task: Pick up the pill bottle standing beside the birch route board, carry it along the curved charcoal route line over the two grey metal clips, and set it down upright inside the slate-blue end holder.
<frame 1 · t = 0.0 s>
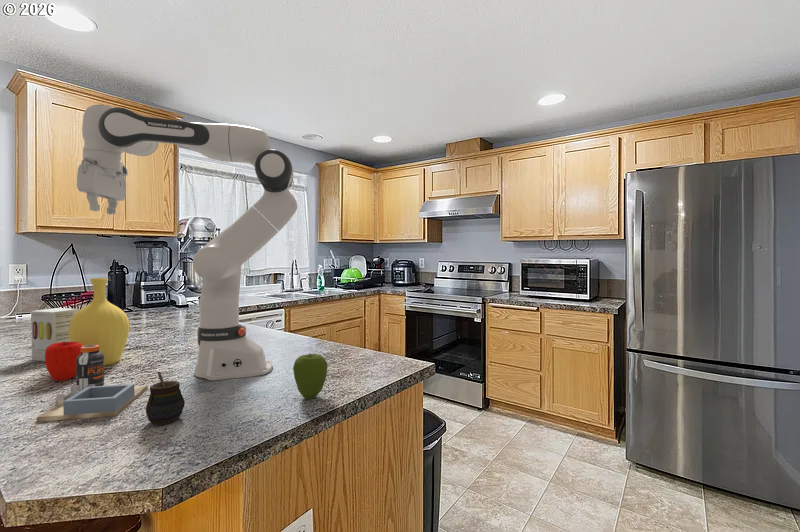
hand: (103, 212, 115), 48 cm above the counter, fingers open, 8 cm apart
clips: (75, 395, 96), on the route board, point 2 cm above the counter
supplement box: (56, 358, 139), on the counter
end holder: (101, 398, 93), on the route board, point 2 cm above the counter
vase: (100, 363, 133), on the counter
apple: (65, 379, 116), on the counter
mate gourd: (164, 421, 87), on the counter
route board: (97, 403, 96), on the counter
apple 2: (310, 398, 101), on the counter
pill bottle: (90, 388, 108), on the counter
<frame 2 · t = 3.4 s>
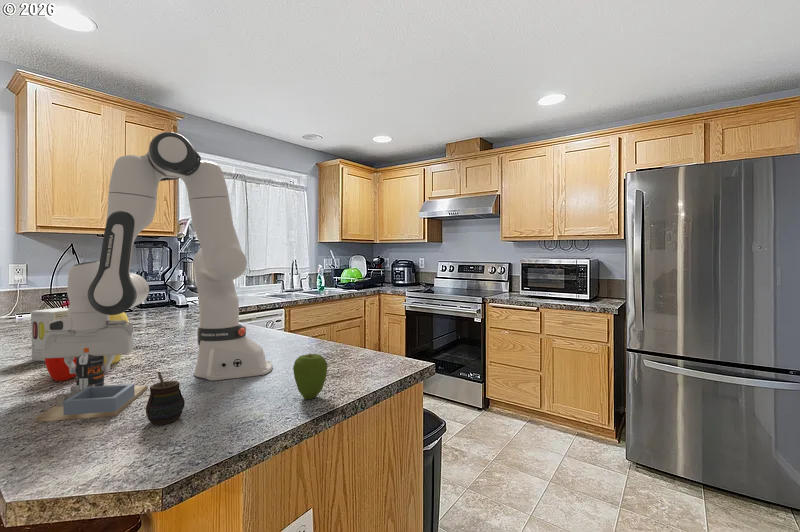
hand: (90, 372, 108), 4 cm above the counter, fingers closed on pill bottle, 6 cm apart
pill bottle: (90, 388, 108), on the counter, touching gripper
everything else where it was.
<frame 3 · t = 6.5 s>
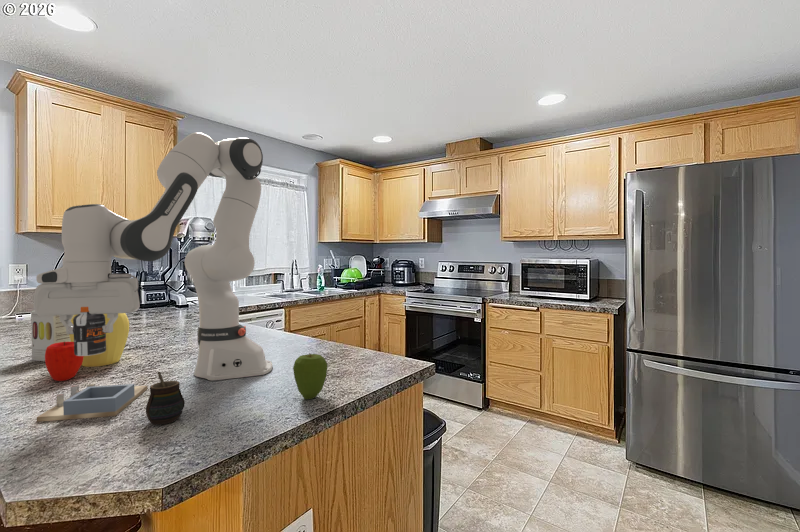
hand: (90, 333, 93), 18 cm above the counter, fingers closed on pill bottle, 6 cm apart
pill bottle: (90, 354, 93), point 13 cm above the counter, touching gripper
everything else where it was.
when the fingers open (7 cm above the counter, at t = 9.4 s): pill bottle drops 1 cm, resting on route board.
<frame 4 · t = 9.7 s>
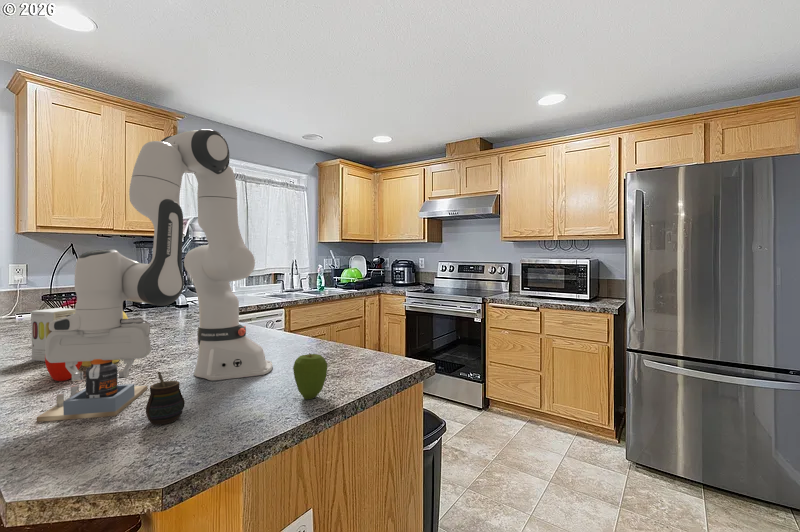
hand: (101, 378, 93), 7 cm above the counter, fingers open, 8 cm apart
pill bottle: (102, 405, 93), point 1 cm above the counter, touching route board
everything else where it was.
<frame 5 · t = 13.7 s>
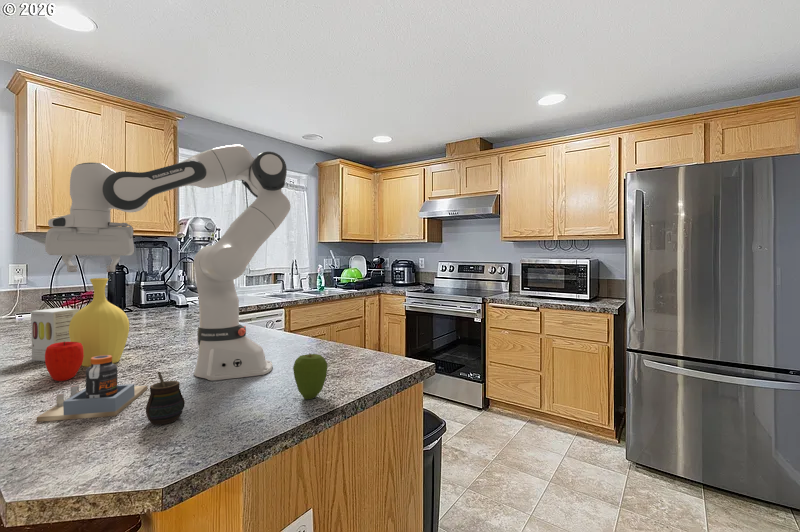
hand: (91, 272, 111), 31 cm above the counter, fingers open, 8 cm apart
nothing on the counter moved.
at the end: pill bottle 0.1 cm off-centre on the end holder, point 0.8 cm above the end holder's base; pill bottle tilted 0°; the gripper is holding nothing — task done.
